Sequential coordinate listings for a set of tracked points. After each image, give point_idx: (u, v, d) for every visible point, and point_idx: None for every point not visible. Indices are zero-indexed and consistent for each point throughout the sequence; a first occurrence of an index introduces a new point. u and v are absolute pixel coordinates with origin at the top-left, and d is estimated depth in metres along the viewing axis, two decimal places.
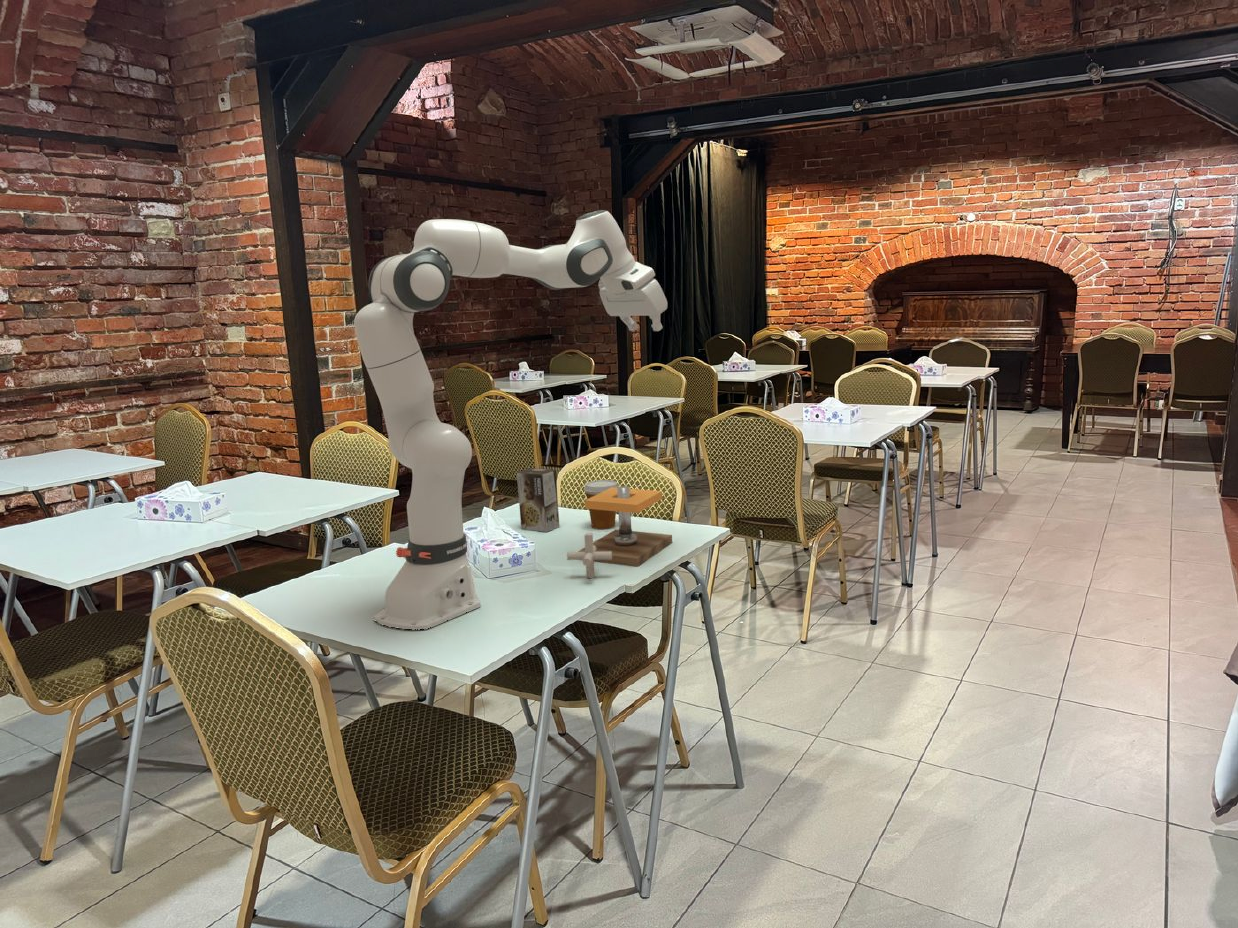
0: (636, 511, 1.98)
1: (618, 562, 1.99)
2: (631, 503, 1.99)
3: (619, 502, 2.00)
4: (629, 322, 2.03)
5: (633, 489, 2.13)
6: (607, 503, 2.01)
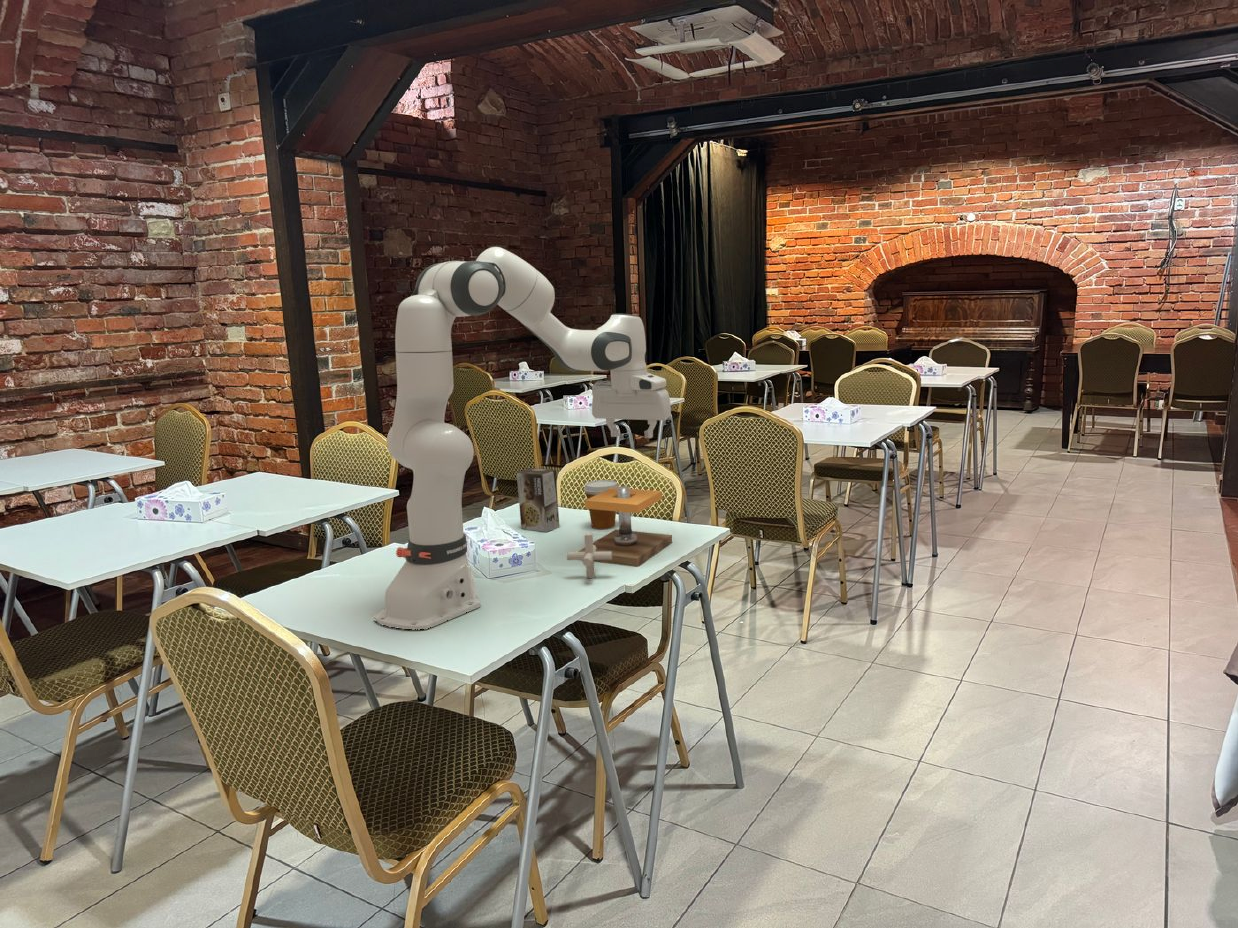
0: (636, 511, 1.98)
1: (618, 562, 1.99)
2: (631, 503, 1.99)
3: (619, 502, 2.00)
4: (613, 428, 2.10)
5: (633, 489, 2.13)
6: (607, 503, 2.01)
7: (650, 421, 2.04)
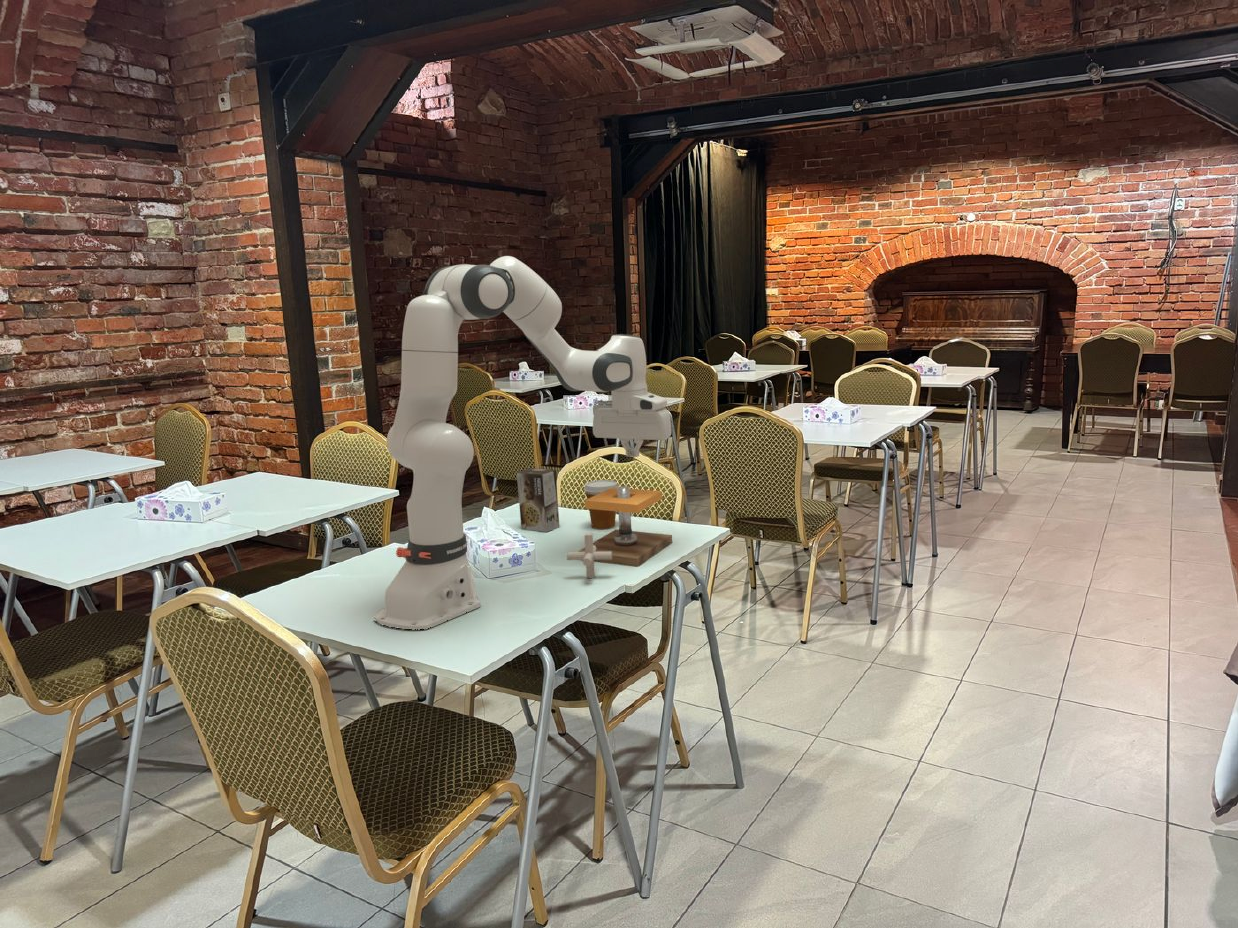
0: (636, 511, 1.98)
1: (618, 562, 1.99)
2: (631, 503, 1.99)
3: (619, 502, 2.00)
4: (628, 447, 2.10)
5: (633, 489, 2.13)
6: (607, 503, 2.01)
7: (636, 440, 2.07)
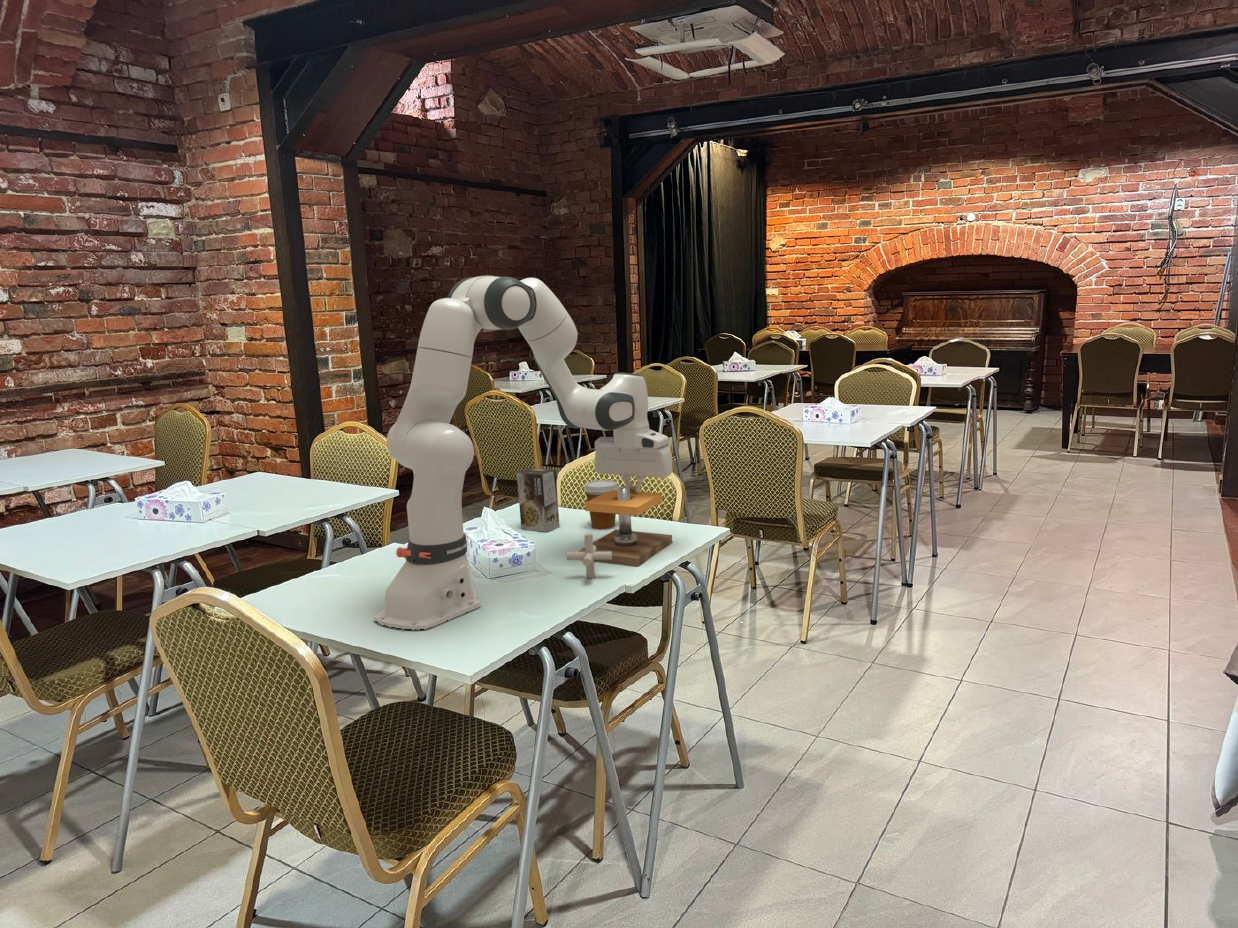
0: (636, 513, 1.98)
1: (618, 562, 1.99)
2: (631, 505, 1.99)
3: (619, 504, 2.01)
4: (629, 484, 2.11)
5: None
6: (607, 505, 2.01)
7: (638, 477, 2.09)
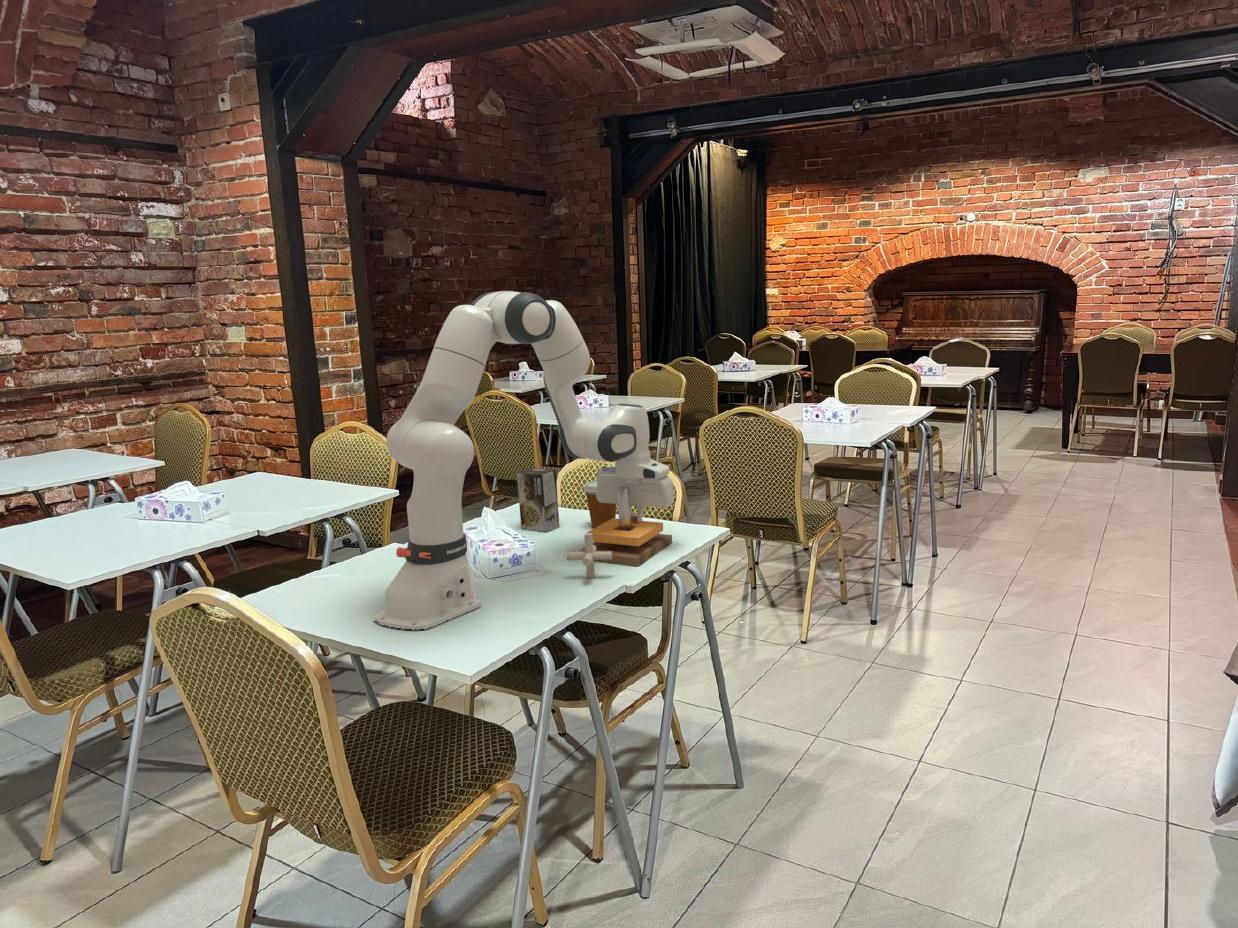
0: (637, 544, 2.00)
1: (618, 562, 1.99)
2: (632, 536, 2.01)
3: (621, 535, 2.02)
4: (631, 513, 2.13)
5: None
6: (609, 536, 2.03)
7: (639, 506, 2.11)
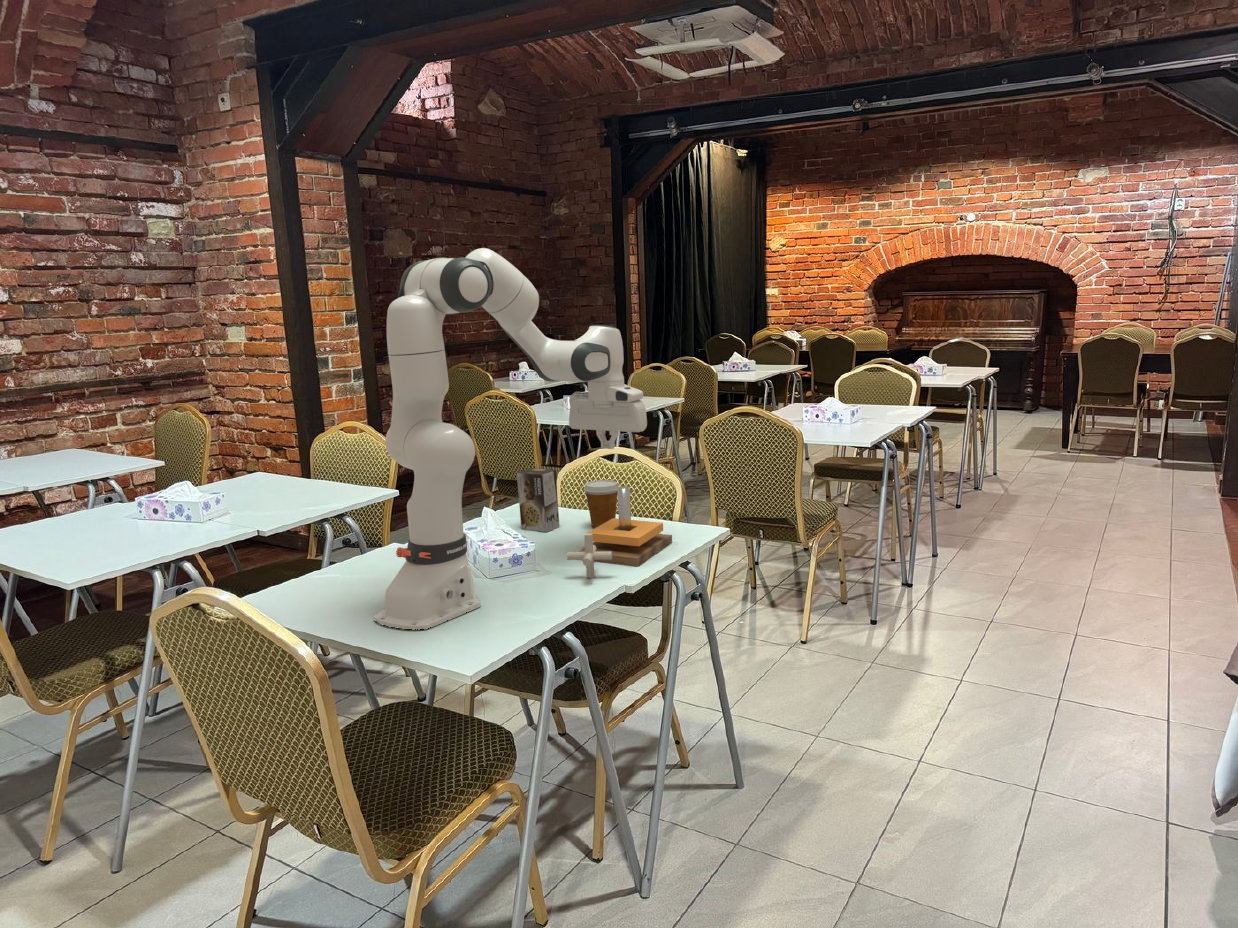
0: (637, 544, 2.00)
1: (618, 562, 1.99)
2: (632, 536, 2.01)
3: (621, 535, 2.02)
4: (603, 439, 2.09)
5: (634, 520, 2.14)
6: (609, 536, 2.03)
7: (612, 432, 2.07)
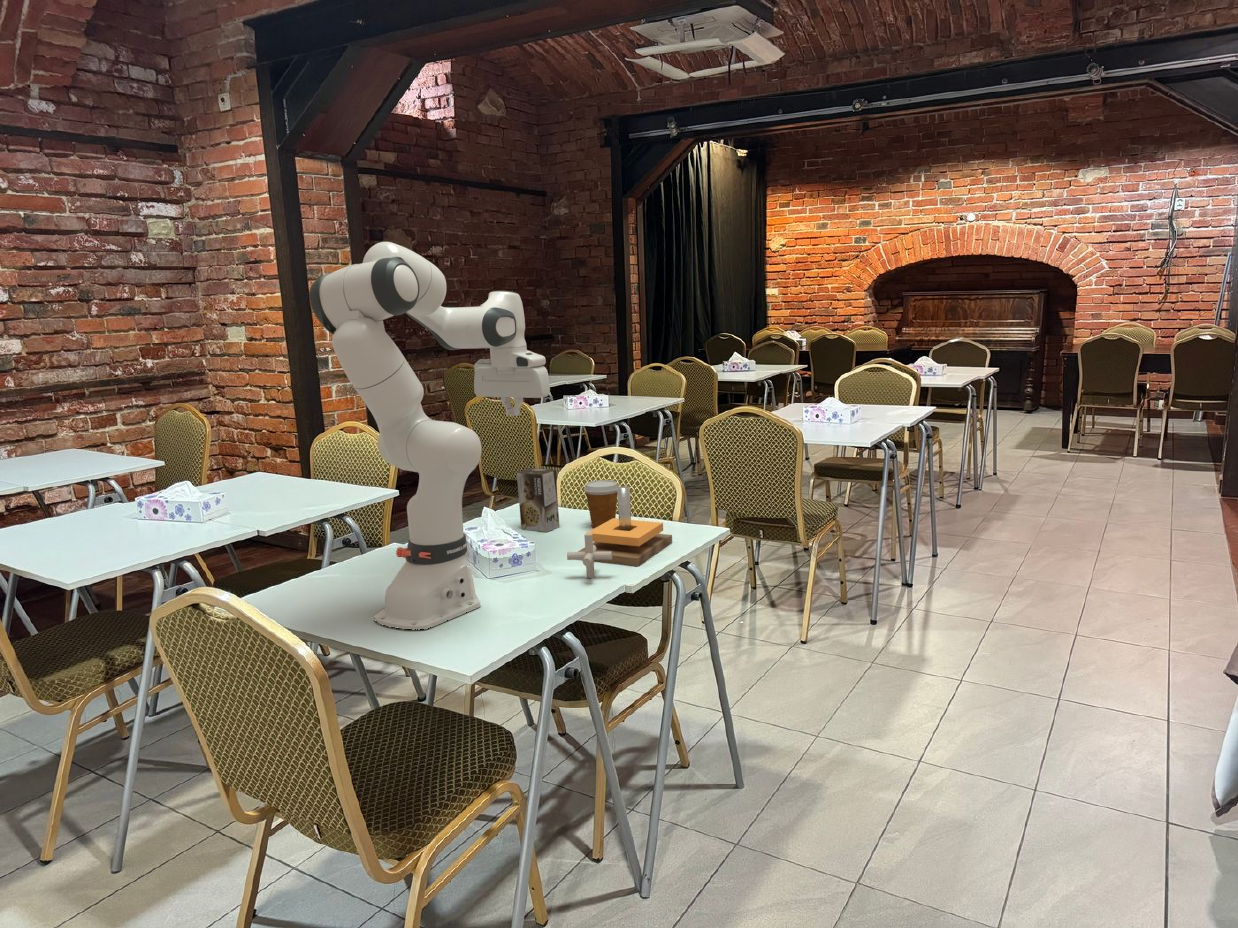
0: (637, 544, 2.00)
1: (618, 562, 1.99)
2: (632, 536, 2.01)
3: (621, 535, 2.02)
4: (508, 406, 2.08)
5: (634, 520, 2.14)
6: (609, 536, 2.03)
7: (515, 399, 2.06)
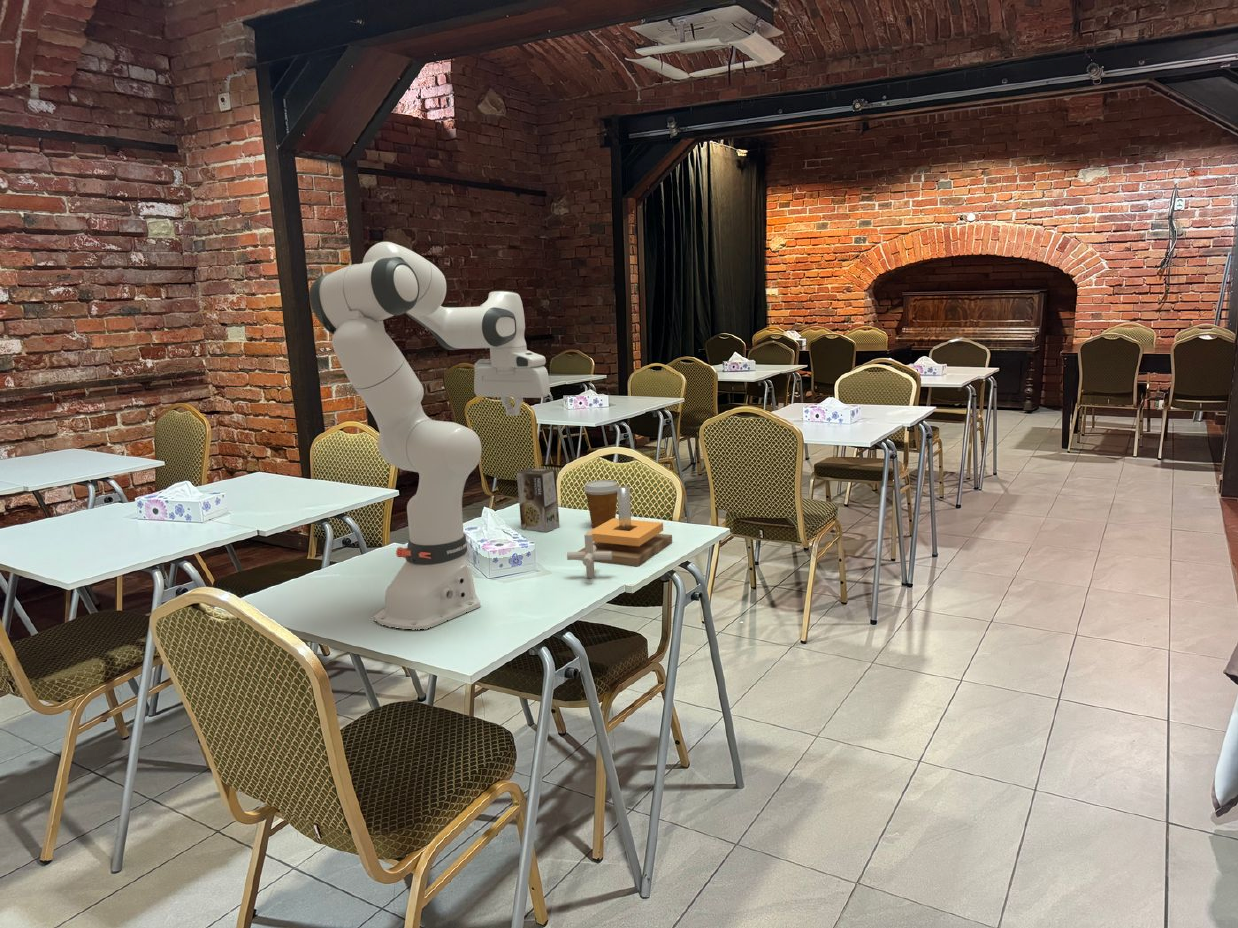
0: (637, 544, 2.00)
1: (618, 562, 1.99)
2: (632, 536, 2.01)
3: (621, 535, 2.02)
4: (508, 406, 2.08)
5: (634, 520, 2.14)
6: (609, 536, 2.03)
7: (515, 398, 2.06)
